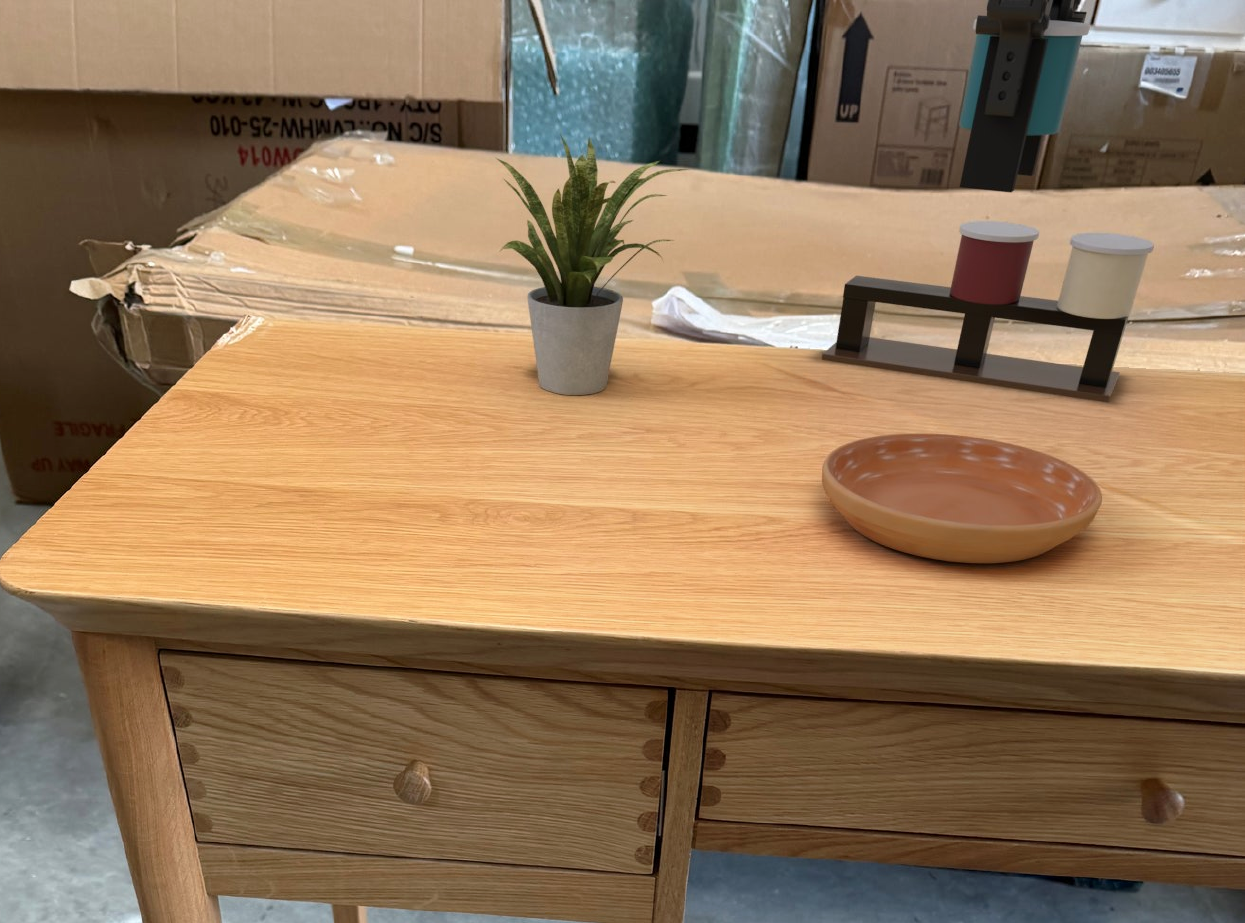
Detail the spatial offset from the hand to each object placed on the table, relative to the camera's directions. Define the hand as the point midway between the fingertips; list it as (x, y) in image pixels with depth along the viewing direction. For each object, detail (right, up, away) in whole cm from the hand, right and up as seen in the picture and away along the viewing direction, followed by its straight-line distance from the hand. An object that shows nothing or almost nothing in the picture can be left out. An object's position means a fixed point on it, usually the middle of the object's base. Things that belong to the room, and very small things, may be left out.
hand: (998, 179), depth 66 cm
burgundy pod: (+9, +7, +26) cm, 29 cm away
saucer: (-1, -17, +7) cm, 18 cm away
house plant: (-22, 0, +26) cm, 34 cm away
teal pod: (0, +2, -1) cm, 2 cm away
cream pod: (+16, +5, +24) cm, 29 cm away
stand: (+8, +2, +30) cm, 31 cm away
